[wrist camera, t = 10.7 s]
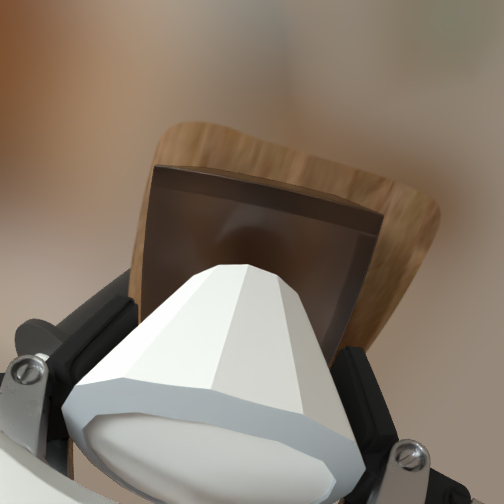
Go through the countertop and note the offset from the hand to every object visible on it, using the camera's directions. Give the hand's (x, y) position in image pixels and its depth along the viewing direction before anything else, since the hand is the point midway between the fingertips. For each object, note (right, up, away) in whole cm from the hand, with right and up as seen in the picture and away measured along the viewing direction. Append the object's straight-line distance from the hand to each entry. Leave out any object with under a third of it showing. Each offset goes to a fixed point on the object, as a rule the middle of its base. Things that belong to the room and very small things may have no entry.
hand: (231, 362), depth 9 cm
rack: (0, 0, +18) cm, 18 cm away
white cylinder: (0, +1, +2) cm, 2 cm away
